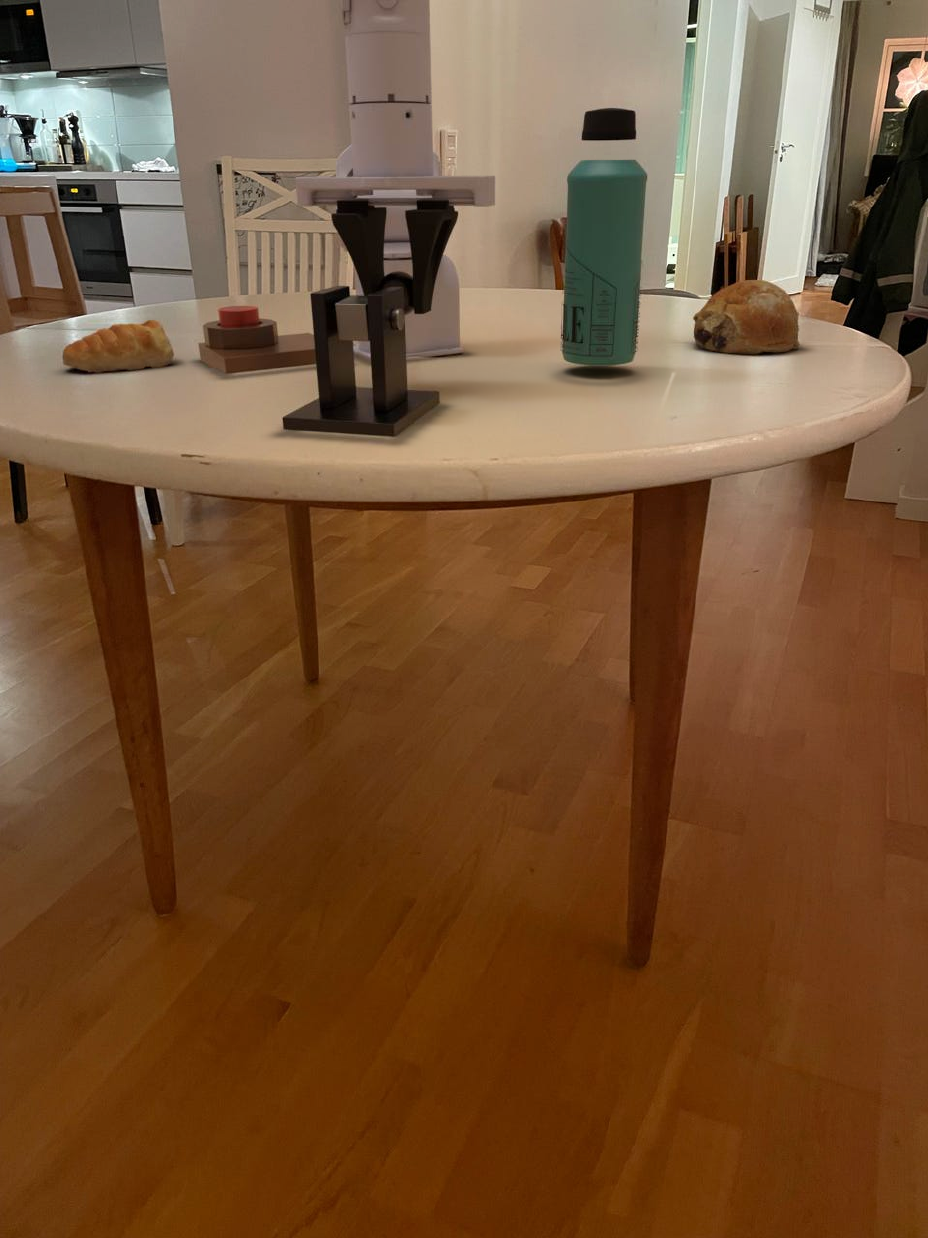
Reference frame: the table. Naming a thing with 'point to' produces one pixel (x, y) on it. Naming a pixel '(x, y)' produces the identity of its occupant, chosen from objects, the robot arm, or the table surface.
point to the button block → (254, 347)
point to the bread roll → (748, 320)
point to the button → (238, 316)
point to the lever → (356, 308)
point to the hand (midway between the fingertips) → (399, 311)
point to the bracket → (338, 395)
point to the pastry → (121, 348)
